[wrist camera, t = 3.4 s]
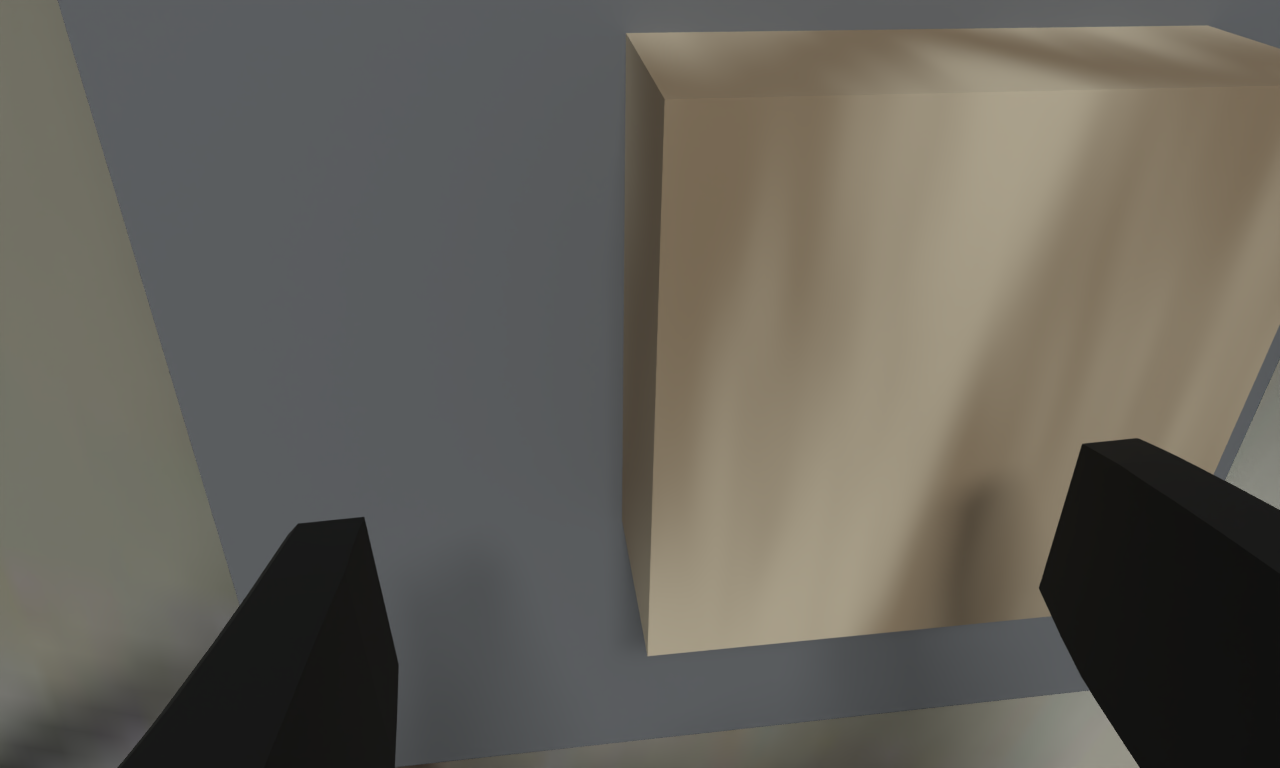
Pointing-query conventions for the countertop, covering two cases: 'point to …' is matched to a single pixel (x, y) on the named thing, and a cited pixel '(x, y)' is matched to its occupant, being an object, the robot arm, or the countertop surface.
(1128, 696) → the robot arm
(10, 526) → the countertop surface
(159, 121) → the mat
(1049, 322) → the tan flat block
